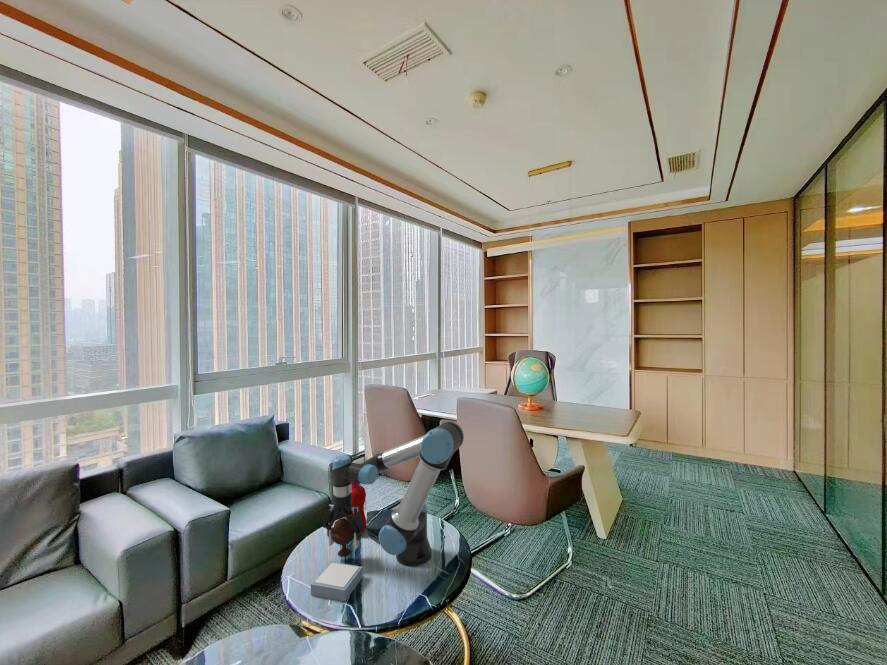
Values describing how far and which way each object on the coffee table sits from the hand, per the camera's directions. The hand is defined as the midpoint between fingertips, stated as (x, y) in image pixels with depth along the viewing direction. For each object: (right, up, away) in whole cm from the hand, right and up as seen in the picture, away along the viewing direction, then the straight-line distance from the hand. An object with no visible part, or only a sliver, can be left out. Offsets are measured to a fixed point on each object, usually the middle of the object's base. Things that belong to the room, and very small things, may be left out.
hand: (344, 545), depth 161 cm
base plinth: (+2, -6, -16) cm, 17 cm away
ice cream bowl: (0, -3, 0) cm, 3 cm away
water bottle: (0, -6, +23) cm, 24 cm away
